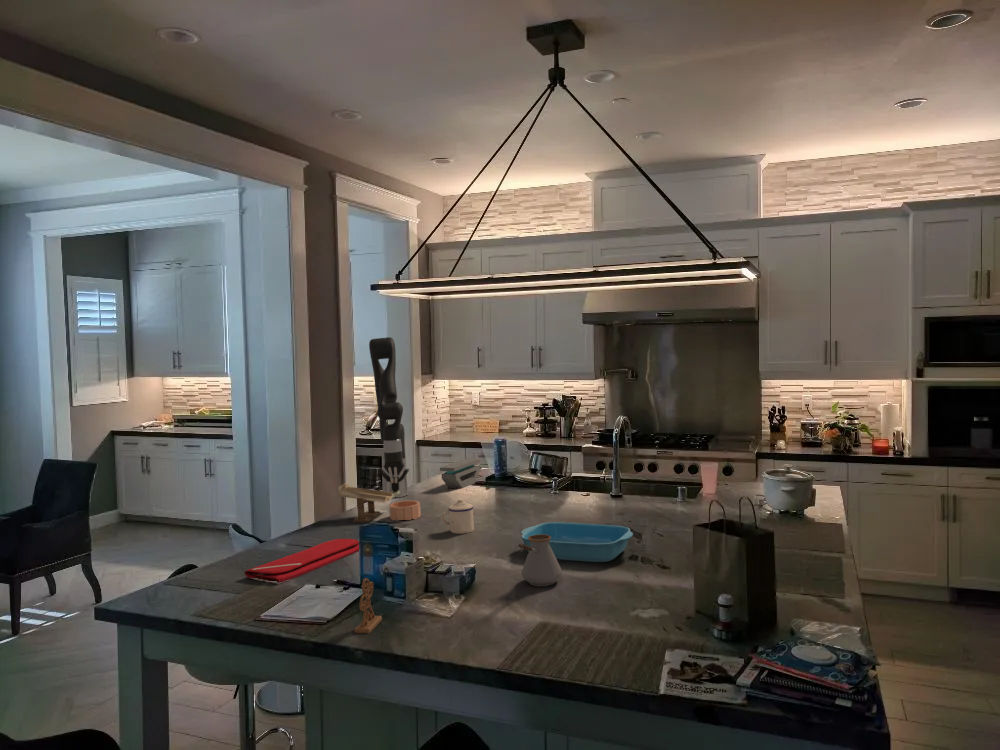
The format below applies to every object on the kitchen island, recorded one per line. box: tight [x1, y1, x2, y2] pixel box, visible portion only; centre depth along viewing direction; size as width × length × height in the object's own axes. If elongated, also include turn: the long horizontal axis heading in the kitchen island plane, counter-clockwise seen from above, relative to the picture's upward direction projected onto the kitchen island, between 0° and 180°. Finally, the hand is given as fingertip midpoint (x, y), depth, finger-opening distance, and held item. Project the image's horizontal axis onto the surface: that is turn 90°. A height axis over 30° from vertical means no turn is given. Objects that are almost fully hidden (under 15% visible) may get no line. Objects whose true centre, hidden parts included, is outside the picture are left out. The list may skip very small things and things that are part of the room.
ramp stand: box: [352, 497, 381, 523], centre depth 302 cm, size 14×6×10 cm, turn 169°
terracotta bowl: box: [388, 500, 422, 521], centre depth 299 cm, size 12×12×6 cm
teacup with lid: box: [440, 498, 475, 535], centre depth 273 cm, size 12×9×12 cm
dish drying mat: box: [244, 538, 360, 583], centre depth 244 cm, size 16×41×4 cm, turn 150°
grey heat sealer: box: [439, 457, 481, 489], centre depth 358 cm, size 25×8×11 cm, turn 153°
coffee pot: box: [514, 534, 563, 587], centre depth 206 cm, size 21×12×15 cm, turn 156°
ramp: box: [337, 482, 400, 503], centre depth 307 cm, size 18×20×4 cm
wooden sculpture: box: [354, 577, 383, 634], centre depth 186 cm, size 9×4×12 cm, turn 168°
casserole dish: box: [520, 521, 634, 563], centre depth 237 cm, size 37×22×7 cm, turn 63°
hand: (395, 491), depth 311 cm, fingers closed
